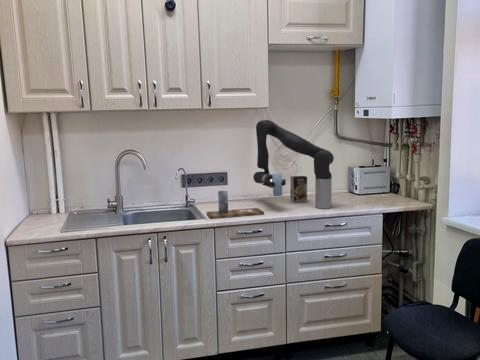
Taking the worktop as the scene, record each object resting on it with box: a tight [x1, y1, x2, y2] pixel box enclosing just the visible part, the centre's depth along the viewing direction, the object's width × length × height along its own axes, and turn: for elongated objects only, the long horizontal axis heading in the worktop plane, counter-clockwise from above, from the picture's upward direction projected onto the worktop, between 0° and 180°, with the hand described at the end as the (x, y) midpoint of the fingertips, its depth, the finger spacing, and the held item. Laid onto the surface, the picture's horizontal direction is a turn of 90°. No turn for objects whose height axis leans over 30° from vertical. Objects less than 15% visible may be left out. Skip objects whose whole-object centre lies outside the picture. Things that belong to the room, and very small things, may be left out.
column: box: [272, 173, 283, 197], centre depth 246 cm, size 5×5×12 cm
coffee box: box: [289, 175, 308, 204], centre depth 272 cm, size 9×6×16 cm
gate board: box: [206, 190, 265, 220], centre depth 242 cm, size 30×12×14 cm, turn 104°
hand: (278, 184), depth 243 cm, fingers closed on column, 5 cm apart
